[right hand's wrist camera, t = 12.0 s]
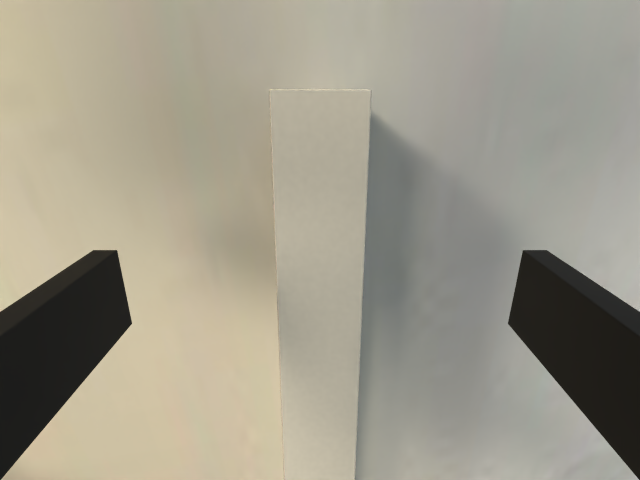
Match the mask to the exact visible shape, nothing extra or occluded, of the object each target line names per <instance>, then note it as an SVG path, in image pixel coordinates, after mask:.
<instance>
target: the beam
mask: <svg viewBox="0 0 640 480" xmlns="http://www.w3.org/2000/svg"><path fill="white" fill-rule="evenodd" d="M269 100H270V126H271V152H272V178H273V204H274V230H275V257H276V283H277V309H278V335H279V361H280V387H281V414H282V440H283V466H284V480H355V465H356V442H357V418H358V395H359V372H360V348H361V325H362V302H363V278H364V255H365V231H366V208H367V185H368V161H369V138H370V115H371V90H370V89H270V90H269Z"/></svg>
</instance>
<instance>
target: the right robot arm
mask: <svg viewBox="0 0 640 480" xmlns="http://www.w3.org/2000/svg"><path fill="white" fill-rule="evenodd" d="M131 324H132V321H131V317H130V312H129V307H128V302H127V297H126V292H125V287H124V282H123V277H122V272H121V267H120V263H119V258H118V253H117V250H93V251H92V252H90V253H89V254H87V255H86V256H84V257H83V258H81V259H79V260H78V261H76V262H75V263H73V264H72V265H70V266H69V267H67V268H66V269H64V270H63V271H61V272H60V273H58V274H57V275H55V276H54V277H52V278H51V279H49V280H48V281H46V282H45V283H43V284H42V285H40V286H39V287H37V288H36V289H34V290H33V291H31V292H30V293H28V294H27V295H25V296H24V297H22V298H21V299H19V300H18V301H16V302H15V303H13V304H12V305H10V306H9V307H7V308H6V309H4V310H3V311H1V312H0V480H1V479H2V478H3V476H4V475H5V474H6V473H7V472H8V470H9V469H10V468H11V467H12V466H13V464H14V463H15V462H16V461H17V460H18V458H19V457H20V456H21V455H22V454H23V453H24V451H25V450H26V449H27V448H28V447H29V445H30V444H31V443H32V442H33V441H34V439H35V438H36V437H37V436H38V435H39V434H40V432H41V431H42V430H43V429H44V428H45V426H46V425H47V424H48V423H49V422H50V420H51V419H52V418H53V417H54V416H55V415H56V413H57V412H58V411H59V410H60V409H61V407H62V406H63V405H64V404H65V403H66V401H67V400H68V399H69V398H70V397H71V395H72V394H73V393H74V392H75V391H76V390H77V388H78V387H79V386H80V385H81V384H82V382H83V381H84V380H85V379H86V378H87V376H88V375H89V374H90V373H91V372H92V371H93V369H94V368H95V367H96V366H97V365H98V363H99V362H100V361H101V360H102V359H103V357H104V356H105V355H106V354H107V353H108V351H109V350H110V349H111V348H112V347H113V346H114V344H115V343H116V342H117V341H118V340H119V338H120V337H121V336H122V335H123V334H124V332H125V331H126V330H127V329H128V328H129V327H130V325H131ZM508 324H509V325H510V327H511V328H512V329H513V330H514V331H515V332H516V334H517V335H518V336H519V337H520V338H521V340H522V341H523V342H524V343H525V344H526V346H527V347H528V348H529V349H530V350H531V351H532V353H533V354H534V355H535V356H536V357H537V359H538V360H539V361H540V362H541V363H542V365H543V366H544V367H545V368H546V369H547V371H548V372H549V373H550V374H551V375H552V376H553V378H554V379H555V380H556V381H557V382H558V384H559V385H560V386H561V387H562V388H563V390H564V391H565V392H566V393H567V394H568V395H569V397H570V398H571V399H572V400H573V401H574V403H575V404H576V405H577V406H578V407H579V409H580V410H581V411H582V412H583V413H584V415H585V416H586V417H587V418H588V419H589V420H590V422H591V423H592V424H593V425H594V426H595V428H596V429H597V430H598V431H599V432H600V434H601V435H602V436H603V437H604V438H605V439H606V441H607V442H608V443H609V444H610V445H611V447H612V448H613V449H614V450H615V451H616V453H617V454H618V455H619V456H620V457H621V459H622V460H623V461H624V462H625V463H626V464H627V466H628V467H629V468H630V469H631V470H632V472H633V473H634V474H635V475H636V476H637V478H638V479H639V480H640V312H639V311H637V310H636V309H634V308H633V307H631V306H630V305H628V304H627V303H625V302H624V301H622V300H621V299H619V298H618V297H616V296H615V295H613V294H612V293H610V292H609V291H607V290H606V289H604V288H603V287H601V286H600V285H598V284H597V283H595V282H594V281H592V280H591V279H589V278H588V277H586V276H585V275H583V274H582V273H580V272H579V271H577V270H576V269H574V268H573V267H571V266H570V265H568V264H567V263H565V262H564V261H562V260H561V259H559V258H557V257H556V256H554V255H553V254H551V253H550V252H548V251H547V250H523V253H522V258H521V263H520V267H519V272H518V277H517V282H516V287H515V292H514V297H513V302H512V307H511V312H510V317H509V321H508Z"/></svg>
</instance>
